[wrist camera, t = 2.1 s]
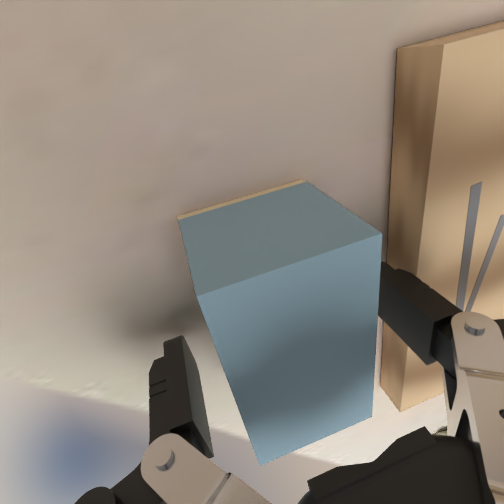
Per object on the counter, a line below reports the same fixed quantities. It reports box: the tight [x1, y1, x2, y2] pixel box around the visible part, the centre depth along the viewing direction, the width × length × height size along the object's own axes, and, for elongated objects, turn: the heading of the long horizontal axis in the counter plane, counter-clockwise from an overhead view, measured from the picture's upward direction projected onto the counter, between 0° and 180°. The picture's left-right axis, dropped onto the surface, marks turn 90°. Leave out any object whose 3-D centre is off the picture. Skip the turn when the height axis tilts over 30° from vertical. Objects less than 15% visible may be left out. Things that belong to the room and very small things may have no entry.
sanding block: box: [177, 179, 383, 466], centre depth 12 cm, size 9×5×5 cm, turn 11°
